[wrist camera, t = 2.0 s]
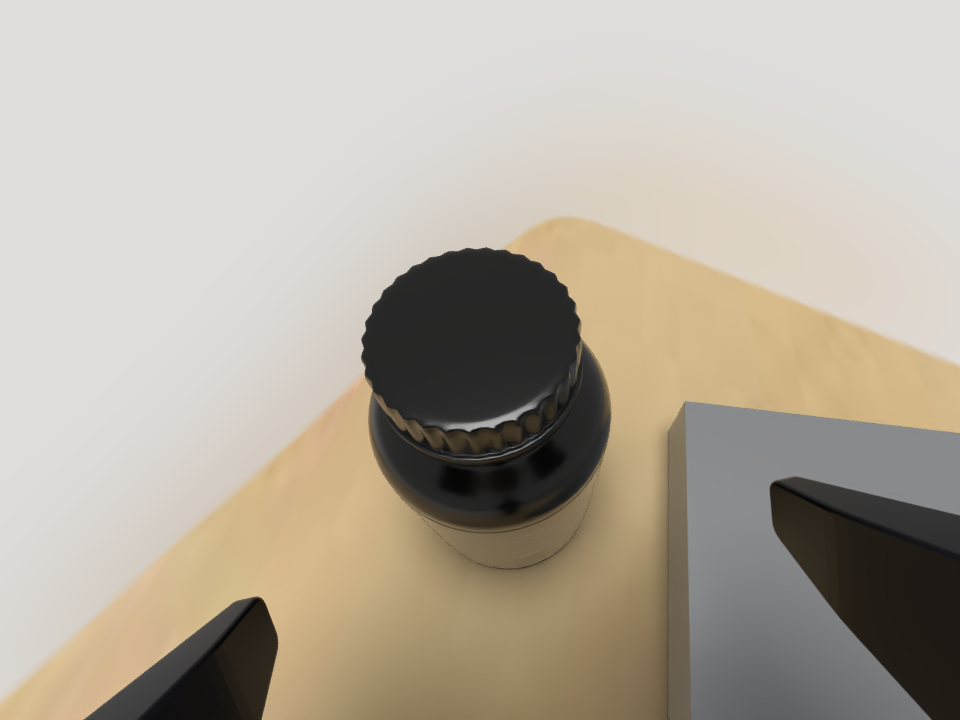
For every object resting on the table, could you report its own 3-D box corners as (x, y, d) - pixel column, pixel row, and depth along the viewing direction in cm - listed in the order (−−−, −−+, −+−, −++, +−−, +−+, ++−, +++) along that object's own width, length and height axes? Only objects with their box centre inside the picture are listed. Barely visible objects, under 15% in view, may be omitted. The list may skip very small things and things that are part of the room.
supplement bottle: (397, 487, 21) (253, 333, 11) (507, 386, 23) (473, 174, 13) (508, 615, 18) (454, 569, 8) (624, 486, 20) (705, 311, 9)
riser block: (1296, 1169, 10) (1539, 1339, 8) (667, 954, 13) (697, 1027, 10) (1030, 478, 18) (1110, 450, 15) (668, 431, 21) (685, 401, 18)
